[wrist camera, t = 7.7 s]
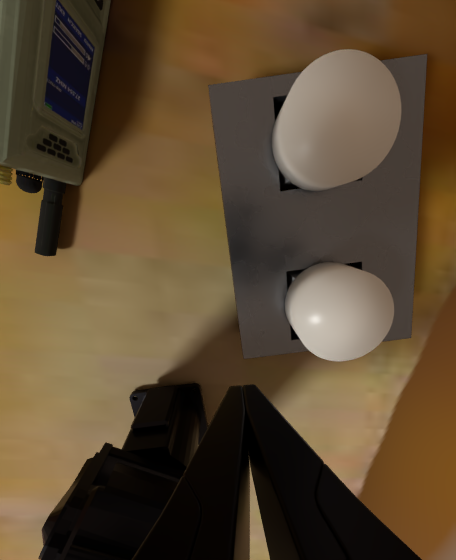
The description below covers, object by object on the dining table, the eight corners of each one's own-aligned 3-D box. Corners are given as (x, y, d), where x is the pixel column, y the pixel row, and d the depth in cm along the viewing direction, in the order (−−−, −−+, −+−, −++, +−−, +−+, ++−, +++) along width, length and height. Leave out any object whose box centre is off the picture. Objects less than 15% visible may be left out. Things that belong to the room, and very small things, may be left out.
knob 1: (338, 192, 18) (399, 175, 12) (265, 202, 18) (286, 191, 12) (336, 109, 16) (403, 40, 10) (257, 120, 17) (277, 58, 10)
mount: (375, 316, 20) (410, 337, 17) (239, 333, 21) (243, 359, 17) (379, 94, 17) (427, 54, 13) (212, 117, 17) (208, 85, 13)
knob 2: (341, 315, 20) (392, 355, 14) (276, 323, 20) (298, 366, 14) (339, 250, 19) (395, 262, 13) (270, 259, 19) (292, 276, 13)
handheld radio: (145, -143, 14) (78, 259, 19) (90, -164, 14) (39, 247, 19) (67, -474, 7) (-1, 275, 13) (-39, -521, 7) (-63, 257, 12)
